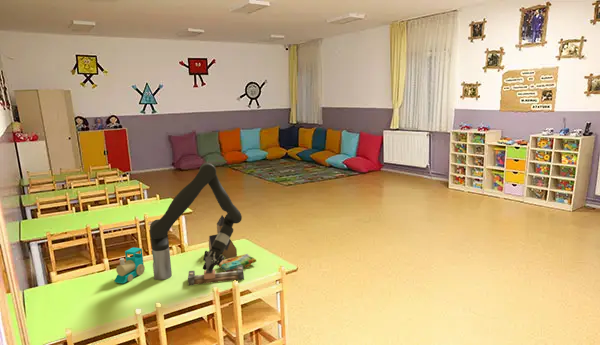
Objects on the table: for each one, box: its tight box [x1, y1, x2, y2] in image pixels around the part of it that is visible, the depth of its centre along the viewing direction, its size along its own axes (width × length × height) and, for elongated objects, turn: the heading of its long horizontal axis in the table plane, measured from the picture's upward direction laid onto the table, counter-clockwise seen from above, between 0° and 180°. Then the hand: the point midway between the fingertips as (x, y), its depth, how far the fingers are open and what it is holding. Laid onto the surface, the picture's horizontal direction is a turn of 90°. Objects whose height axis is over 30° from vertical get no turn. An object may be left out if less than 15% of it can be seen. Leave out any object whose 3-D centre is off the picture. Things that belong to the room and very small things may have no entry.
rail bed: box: [187, 265, 245, 286], centre depth 228 cm, size 30×9×5 cm, turn 101°
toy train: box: [114, 246, 146, 284], centre depth 232 cm, size 8×17×15 cm, turn 160°
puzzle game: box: [217, 253, 257, 272], centre depth 244 cm, size 12×5×20 cm
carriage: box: [203, 257, 216, 279], centre depth 227 cm, size 6×6×11 cm
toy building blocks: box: [208, 214, 238, 259], centre depth 260 cm, size 12×19×25 cm, turn 28°
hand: (206, 270), depth 225 cm, fingers closed on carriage, 3 cm apart
